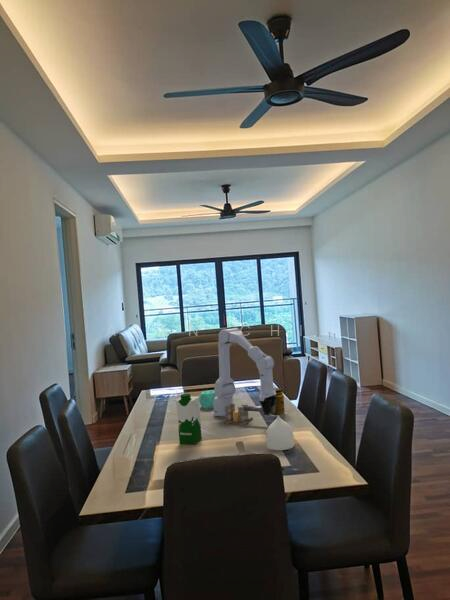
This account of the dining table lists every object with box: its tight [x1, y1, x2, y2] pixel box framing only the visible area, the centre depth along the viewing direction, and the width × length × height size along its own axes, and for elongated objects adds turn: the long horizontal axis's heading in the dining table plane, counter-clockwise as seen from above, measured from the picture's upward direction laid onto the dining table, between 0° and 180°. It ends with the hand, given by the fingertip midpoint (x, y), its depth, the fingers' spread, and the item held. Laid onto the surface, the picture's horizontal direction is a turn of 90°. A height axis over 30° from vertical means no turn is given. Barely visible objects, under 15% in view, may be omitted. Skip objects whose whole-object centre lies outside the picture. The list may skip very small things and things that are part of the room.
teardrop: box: [265, 415, 295, 451], centre depth 170 cm, size 11×11×12 cm
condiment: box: [268, 387, 288, 418], centre depth 214 cm, size 7×8×12 cm
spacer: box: [233, 408, 239, 421], centre depth 206 cm, size 2×5×5 cm, turn 160°
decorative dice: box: [199, 389, 217, 409], centre depth 238 cm, size 8×8×8 cm
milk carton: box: [175, 393, 203, 445], centre depth 182 cm, size 9×9×20 cm
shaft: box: [244, 405, 275, 415], centre depth 200 cm, size 15×4×4 cm, turn 61°
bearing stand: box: [222, 402, 254, 426], centre depth 206 cm, size 10×10×8 cm
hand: (268, 413), depth 198 cm, fingers closed on shaft, 4 cm apart
